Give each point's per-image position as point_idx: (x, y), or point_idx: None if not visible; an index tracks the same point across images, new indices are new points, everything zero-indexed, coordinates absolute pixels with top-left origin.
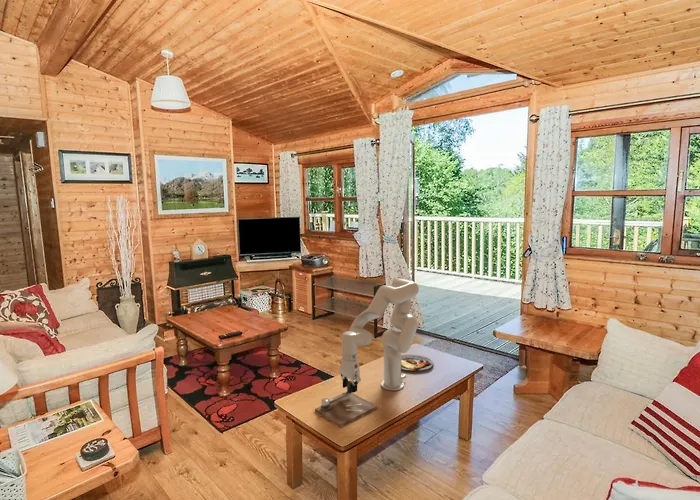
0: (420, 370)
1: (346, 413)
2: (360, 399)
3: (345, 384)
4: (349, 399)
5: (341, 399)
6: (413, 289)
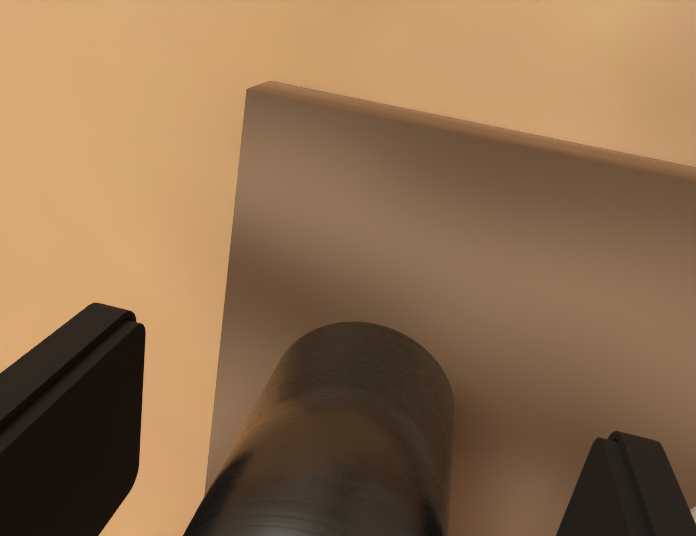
0: None
1: None
2: (684, 262)
3: (85, 483)
4: None
5: None
6: None
